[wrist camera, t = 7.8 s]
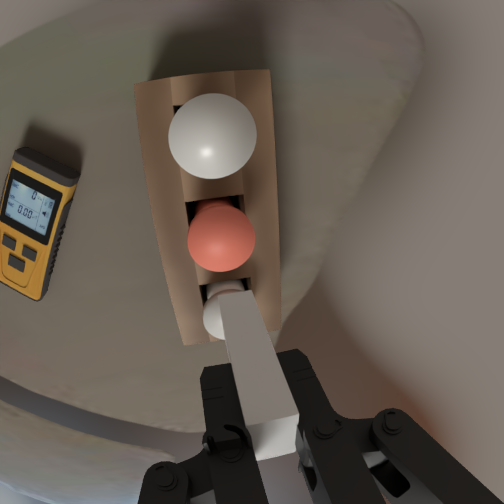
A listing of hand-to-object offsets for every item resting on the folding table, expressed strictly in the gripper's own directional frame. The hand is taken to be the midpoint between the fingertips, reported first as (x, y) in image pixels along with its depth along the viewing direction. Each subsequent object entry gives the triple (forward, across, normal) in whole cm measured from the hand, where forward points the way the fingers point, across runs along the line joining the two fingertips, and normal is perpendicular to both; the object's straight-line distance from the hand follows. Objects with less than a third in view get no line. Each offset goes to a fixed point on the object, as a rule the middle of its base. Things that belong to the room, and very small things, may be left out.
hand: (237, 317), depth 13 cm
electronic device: (+19, -20, +1) cm, 27 cm away
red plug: (+16, 0, 0) cm, 16 cm away
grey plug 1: (+13, 0, +8) cm, 15 cm away
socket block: (+18, 0, 0) cm, 18 cm away
